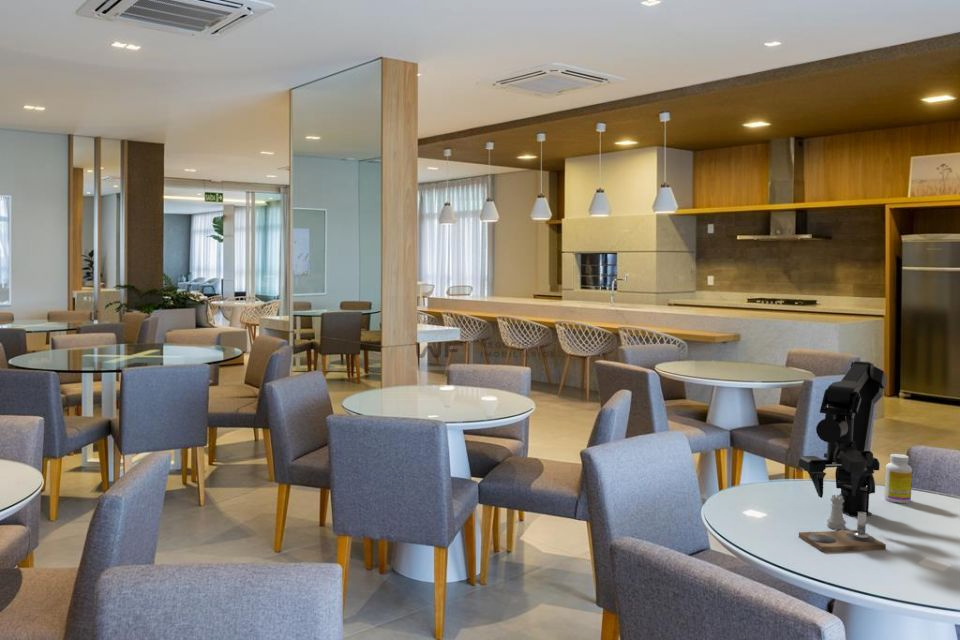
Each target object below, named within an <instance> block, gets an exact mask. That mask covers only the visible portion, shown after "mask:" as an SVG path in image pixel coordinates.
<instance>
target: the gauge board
mask: <svg viewBox="0 0 960 640" xmlns="http://www.w3.org/2000/svg"><path fill="white" fill-rule="evenodd" d="M854 532H857V529H856V530H829V531H828V530H826V531H825V530H824V531H823V530H822V531H803V532H802V531H801V532H798V538H799V539H801V540H803V541H804V542H806V543H807V544H809V545H810V546H811V547H813V548H814V549H816V550H818V551H820V552H821V553H829V552H856V551H857V552H858V551H875V550H876V551H878V550H881V551H882V550H886V548H887V547H886V546H887V544H886V543H884V542H883V541H880V540H879V539H877V538H875V537H874V536H872V535H870V534H868V535H869V536H868V539H858V538H855V537H854Z"/></svg>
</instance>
